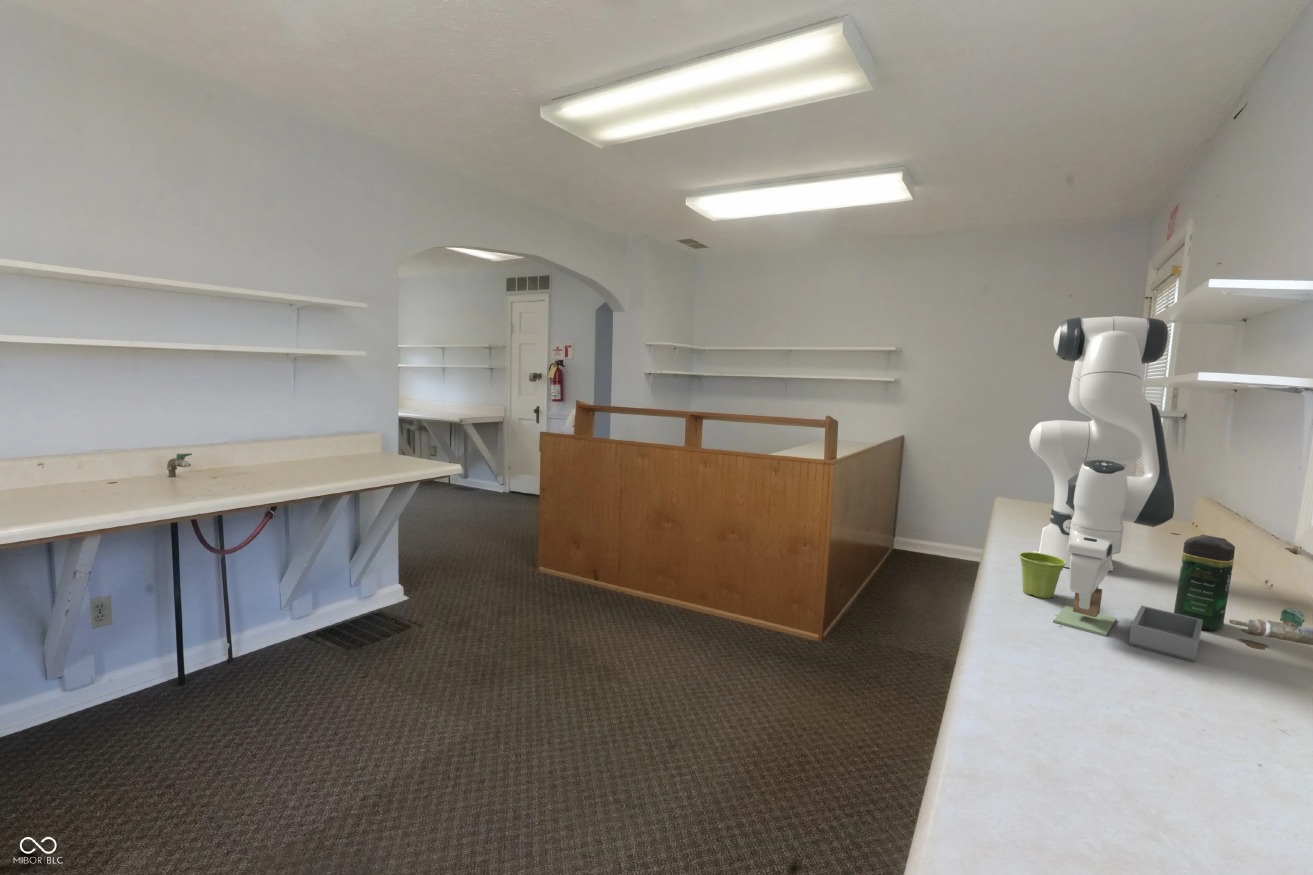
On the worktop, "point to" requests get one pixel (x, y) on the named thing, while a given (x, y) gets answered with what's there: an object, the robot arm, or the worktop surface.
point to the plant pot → (1040, 573)
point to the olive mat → (1085, 621)
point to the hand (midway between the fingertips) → (1087, 604)
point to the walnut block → (1095, 604)
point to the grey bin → (1166, 633)
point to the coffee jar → (1205, 580)
